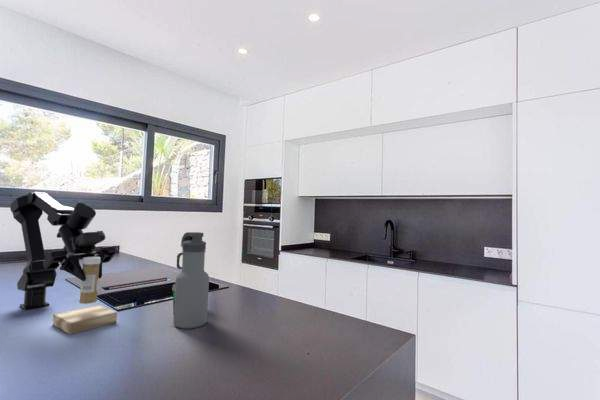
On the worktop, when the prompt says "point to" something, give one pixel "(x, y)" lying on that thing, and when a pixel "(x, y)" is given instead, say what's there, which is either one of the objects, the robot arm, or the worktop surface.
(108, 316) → the oak stand
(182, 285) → the water bottle
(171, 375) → the worktop surface
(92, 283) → the sprinkles bottle
